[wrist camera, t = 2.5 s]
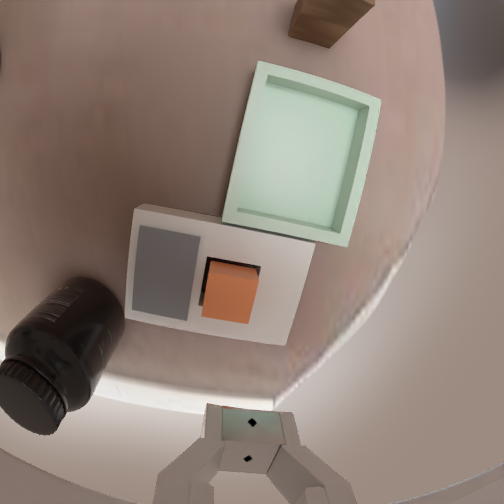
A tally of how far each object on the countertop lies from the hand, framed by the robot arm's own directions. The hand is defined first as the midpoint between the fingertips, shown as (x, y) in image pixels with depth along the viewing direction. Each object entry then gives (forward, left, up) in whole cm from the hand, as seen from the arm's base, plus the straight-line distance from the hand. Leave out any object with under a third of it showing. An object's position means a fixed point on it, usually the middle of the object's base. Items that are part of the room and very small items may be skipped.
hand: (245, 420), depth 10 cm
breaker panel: (-1, 0, -14) cm, 14 cm away
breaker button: (0, 0, -12) cm, 12 cm away
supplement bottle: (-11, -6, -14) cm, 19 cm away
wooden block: (+2, +20, -14) cm, 25 cm away
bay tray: (+3, +10, -14) cm, 17 cm away
